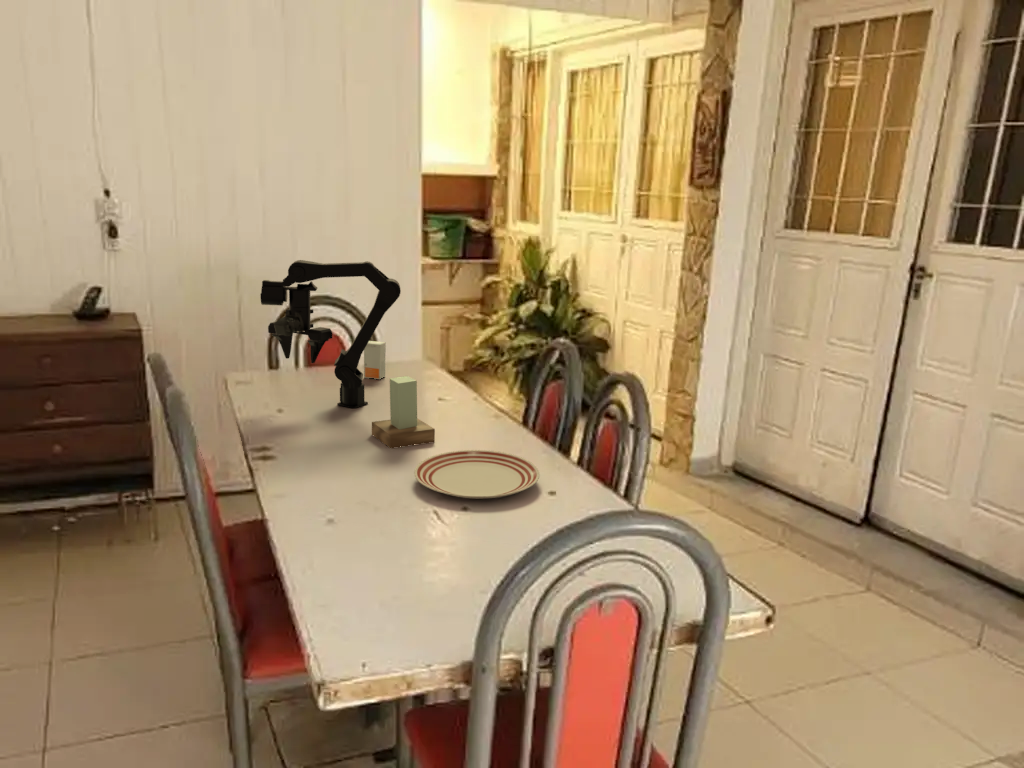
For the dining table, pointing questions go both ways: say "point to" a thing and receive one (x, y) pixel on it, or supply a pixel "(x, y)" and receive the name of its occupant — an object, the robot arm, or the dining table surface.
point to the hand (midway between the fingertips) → (300, 360)
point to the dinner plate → (477, 474)
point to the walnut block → (402, 433)
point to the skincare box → (374, 360)
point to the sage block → (403, 402)
